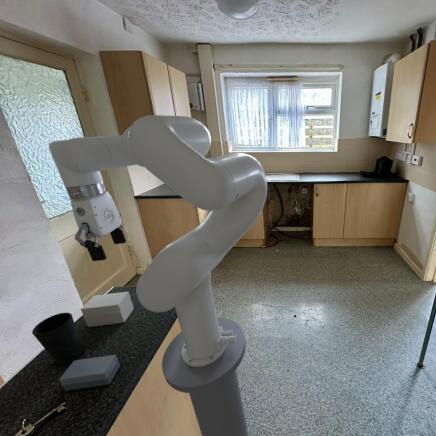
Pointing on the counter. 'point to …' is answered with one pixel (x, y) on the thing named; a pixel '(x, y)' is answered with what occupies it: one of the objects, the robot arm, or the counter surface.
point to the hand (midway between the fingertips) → (110, 251)
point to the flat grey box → (105, 303)
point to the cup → (59, 338)
